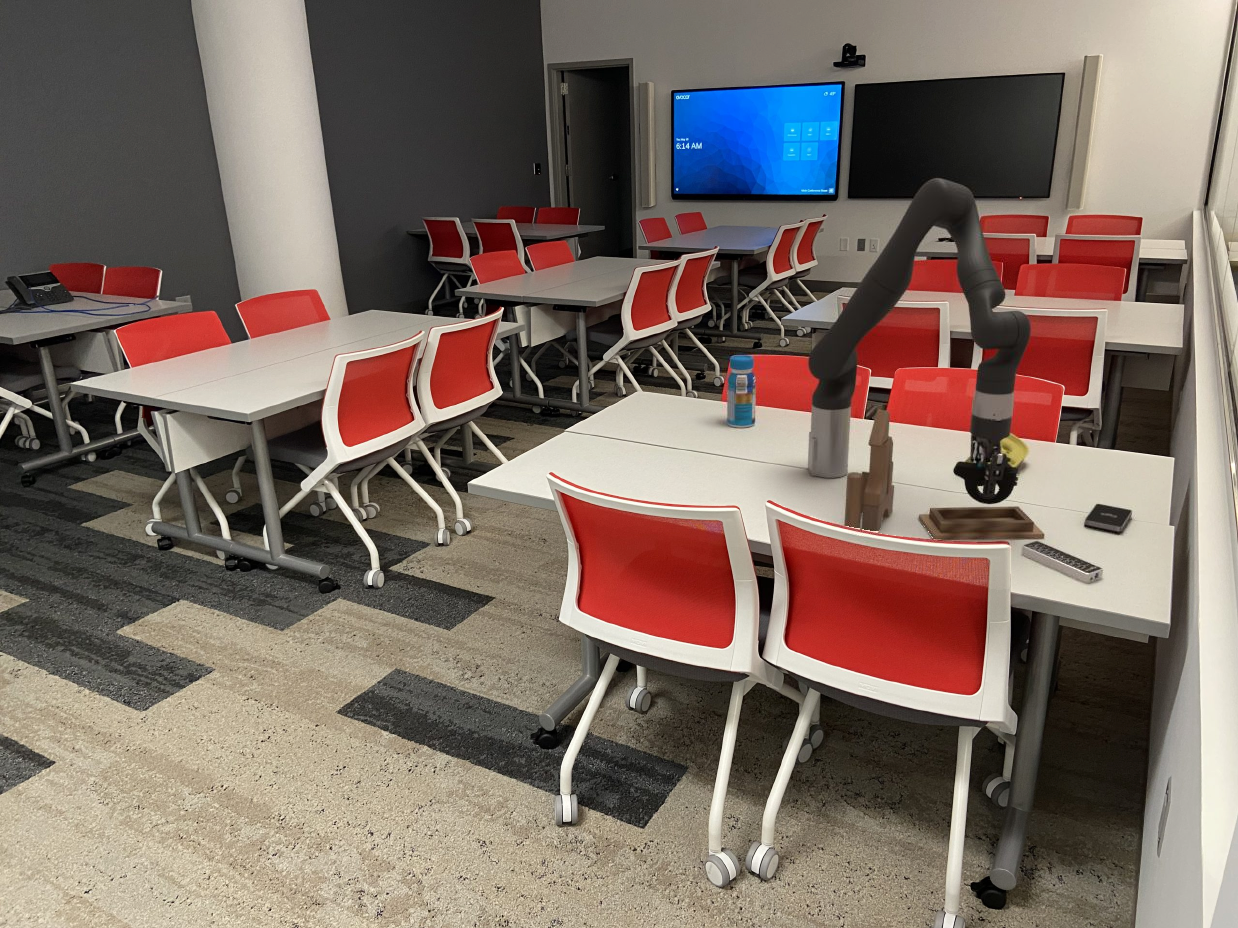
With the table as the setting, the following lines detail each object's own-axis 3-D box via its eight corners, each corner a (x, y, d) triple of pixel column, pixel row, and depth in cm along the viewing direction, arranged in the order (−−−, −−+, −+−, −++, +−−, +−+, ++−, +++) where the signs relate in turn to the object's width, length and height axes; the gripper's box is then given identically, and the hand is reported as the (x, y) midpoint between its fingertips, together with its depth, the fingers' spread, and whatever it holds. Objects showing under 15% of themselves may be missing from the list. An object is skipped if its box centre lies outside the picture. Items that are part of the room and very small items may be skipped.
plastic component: (1004, 476, 205) (967, 451, 209) (988, 499, 209) (952, 474, 213) (1035, 448, 218) (999, 425, 222) (1019, 470, 222) (984, 447, 227)
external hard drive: (1131, 519, 186) (1132, 510, 186) (1120, 537, 178) (1121, 527, 178) (1095, 511, 190) (1096, 503, 190) (1082, 529, 182) (1084, 520, 182)
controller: (1013, 510, 178) (1019, 463, 174) (949, 501, 183) (953, 456, 180) (1015, 502, 181) (1021, 456, 178) (952, 494, 186) (956, 449, 183)
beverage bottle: (720, 424, 258) (720, 357, 251) (739, 418, 263) (739, 352, 256) (743, 430, 252) (743, 362, 245) (761, 423, 257) (762, 356, 251)
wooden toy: (862, 507, 197) (868, 399, 188) (892, 512, 194) (900, 402, 185) (842, 533, 184) (848, 418, 176) (874, 538, 181) (882, 422, 173)
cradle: (933, 540, 179) (934, 526, 178) (918, 518, 190) (919, 505, 189) (1043, 538, 178) (1045, 524, 177) (1023, 516, 188) (1024, 503, 187)
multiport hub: (1035, 550, 174) (1037, 540, 173) (1102, 579, 162) (1104, 568, 161) (1019, 555, 172) (1021, 545, 171) (1086, 585, 160) (1088, 574, 159)
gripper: (961, 402, 182) (953, 479, 188) (985, 423, 169) (976, 504, 175) (998, 401, 182) (989, 478, 188) (1025, 422, 168) (1015, 504, 174)
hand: (983, 490), depth 181 cm, fingers closed on controller, 5 cm apart
